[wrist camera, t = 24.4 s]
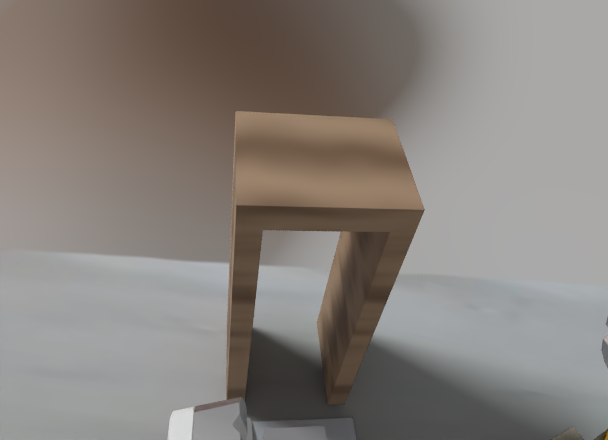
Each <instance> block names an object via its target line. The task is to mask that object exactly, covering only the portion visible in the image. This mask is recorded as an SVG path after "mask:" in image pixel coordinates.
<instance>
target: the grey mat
mask: <svg viewBox="0 0 608 440" xmlns="http://www.w3.org/2000/svg"><path fill="white" fill-rule="evenodd" d="M253 425H254V428H255V432H256V436H257V440H262V439H263V433H264V429H270V428H291V427H313V426H325V431H326V439H327V440H356V434H355V428H354V422H353V418H332V419H307V420H282V421H257V422H253Z"/></svg>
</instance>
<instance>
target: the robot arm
mask: <svg viewBox="0 0 608 440" xmlns="http://www.w3.org/2000/svg"><path fill="white" fill-rule="evenodd" d="M606 325H607V326H608V317H607V322H606ZM602 354H603V358H604V362H605V364H606V365H607V367H608V334H607V335H606V336H605V337H604V338H603V342H602ZM168 440H257V436H256V432H255V428H254V425H253V422H252V420H251V419H250V418H248V417H247V409H246V404H245V402H244V400H243V398H242V397H239V398H234V399H229V400H224V401H219V402H214V403H209V404H204V405H199V406H194V407H190V408H185V409H181V410H176V411H173V412H172V415H171V417H170V422H169V432H168Z"/></svg>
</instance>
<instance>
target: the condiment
mask: <svg viewBox="0 0 608 440" xmlns="http://www.w3.org/2000/svg"><path fill="white" fill-rule="evenodd" d="M551 440H584V439H583V438H582V436H581V435H580V434H579V433H578V432H577V431H576V429H575V428H574V427H572V428H570V429H568V430H567V431H565V432H563V433H561V434H560V435H558V436H556V437H554V438H553V439H551ZM594 440H608V429H607V430H606V431H605V432H603V433H602V434H601V435H599V436H598V437H597V438H595V439H594Z"/></svg>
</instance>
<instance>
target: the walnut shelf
mask: <svg viewBox="0 0 608 440" xmlns="http://www.w3.org/2000/svg"><path fill="white" fill-rule="evenodd" d="M234 143H235V144H234V166H233V167H234V168H233V191H232V192H233V193H232V216H231V240H230V265H229V290H228V314H227V400H229V399H234V398H239V397H242V398H243V400H244V402H245V394H246V385H247V375H248V365H249V356H250V346H251V337H252V327H253V318H254V308H255V298H256V289H257V279H258V270H259V260H260V250H261V240H262V231H263V230H291V231H292V230H293V231H294V230H295V231H341V233H340V237H339V241H338V245H337V248H336V253H335V256H334V260H333V264H332V267H331V271H330V275H329V279H328V283H327V286H326V290H325V294H324V298H323V302H322V305H321V309H320V313H319V317H318V321H317V326H318V334H319V342H320V349H321V357H322V365H323V372H324V380H325V388H326V396H327V403H328V405H331V404H344V403H345V401H346V399H347V396H348V394H349V391H350V389H351V387H352V384H353V382H354V379H355V377H356V374H357V372H358V370H359V367H360V365H361V362H362V360H363V358H364V355H365V353H366V350H367V348H368V345H369V343H370V341H371V338H372V336H373V333H374V331H375V329H376V326H377V324H378V321H379V319H380V316H381V314H382V312H383V309H384V307H385V304H386V302H387V299H388V297H389V295H390V292H391V290H392V287H393V285H394V283H395V280H396V278H397V275H398V273H399V270H400V268H401V266H402V263H403V261H404V258H405V256H406V254H407V251H408V249H409V246H410V244H411V241H412V239H413V237H414V234H415V232H416V229H417V227H418V224H419V222H420V219H421V217H422V215H423V212H424V207H423V204H422V201H421V198H420V196H419V193H418V190H417V187H416V184H415V181H414V179H413V176H412V173H411V170H410V168H409V165H408V162H407V159H406V156H405V153H404V150H403V148H402V145H401V142H400V139H399V136H398V133H397V131H396V128H395V125H394V122H393V120H392V119H374V118H373V119H372V118H354V117H336V116H316V115H297V114H277V113H259V112H258V113H257V112H240V111H236V118H235V142H234Z"/></svg>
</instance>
